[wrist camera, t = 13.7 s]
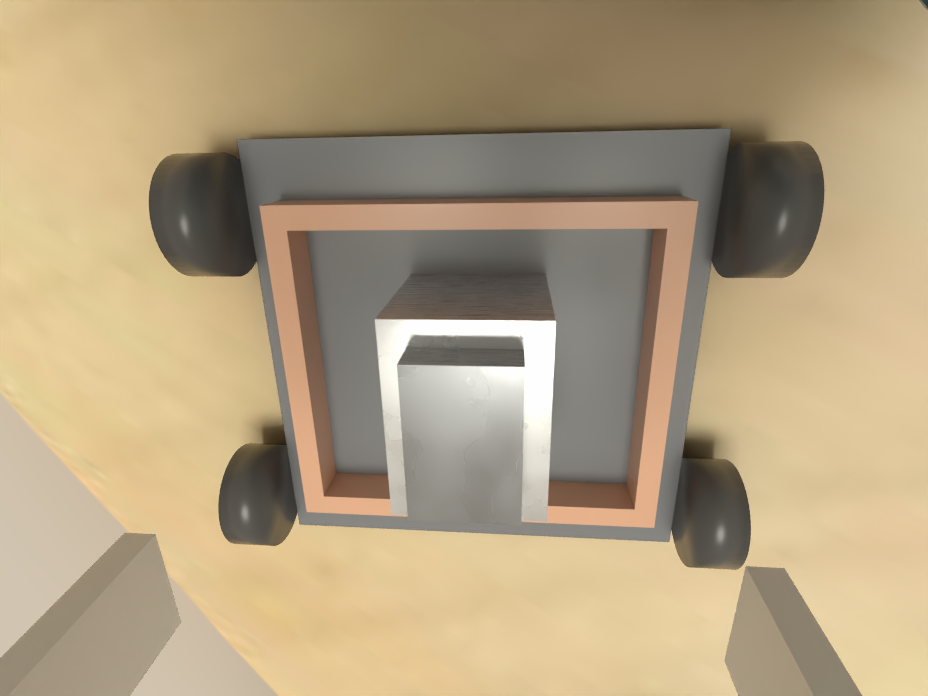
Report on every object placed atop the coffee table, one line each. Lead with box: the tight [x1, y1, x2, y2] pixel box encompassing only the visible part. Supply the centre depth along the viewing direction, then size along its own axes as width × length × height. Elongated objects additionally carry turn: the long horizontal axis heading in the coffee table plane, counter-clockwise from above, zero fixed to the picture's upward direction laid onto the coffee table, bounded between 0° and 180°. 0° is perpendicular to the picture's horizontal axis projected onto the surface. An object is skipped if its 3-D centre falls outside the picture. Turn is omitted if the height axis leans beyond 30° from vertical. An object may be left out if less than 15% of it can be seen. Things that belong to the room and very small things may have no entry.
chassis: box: [149, 128, 824, 570], centre depth 24 cm, size 20×24×5 cm
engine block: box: [375, 274, 556, 525], centre depth 21 cm, size 8×6×8 cm
